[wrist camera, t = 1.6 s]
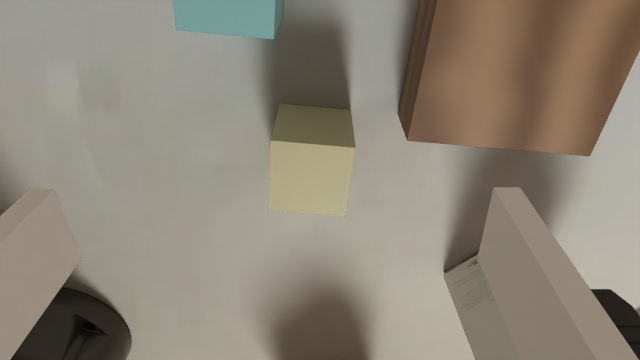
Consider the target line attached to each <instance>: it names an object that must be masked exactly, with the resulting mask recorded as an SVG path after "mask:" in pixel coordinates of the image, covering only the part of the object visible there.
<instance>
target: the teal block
mask: <svg viewBox="0 0 640 360" xmlns="http://www.w3.org/2000/svg"><path fill="white" fill-rule="evenodd" d="M173 2H174V14H175V26H176V30H178V31H189V32H200V33H210V34H221V35H232V36H243V37H254V38H264V39H274V38H275V35H276V33H277V30H278V28H279V25H280V23H281V21H282V18H283V10H284V0H173Z"/></svg>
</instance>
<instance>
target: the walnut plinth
mask: <svg viewBox="0 0 640 360" xmlns="http://www.w3.org/2000/svg"><path fill="white" fill-rule="evenodd" d="M639 50H640V0H420V4H419V9H418V14H417V19H416V24H415V29H414V34H413V39H412V45H411V50H410V55H409V60H408V65H407V70H406V75H405V80H404V85H403V91H402V96H401V101H400V106H399V111H398V116H399V119H400V122H401V124H402V127H403V130H404V133H405V136H406V138H407V141H417V142H429V143H440V144H452V145H464V146H475V147H487V148H499V149H511V150H522V151H534V152H546V153H558V154H569V155H581V156H590V155H591V153H592V151H593V148H594V146H595V144H596V142H597V140H598V138H599V136H600V133H601V131H602V129H603V127H604V125H605V123H606V121H607V119H608V116H609V114H610V112H611V110H612V108H613V106H614V104H615V102H616V99H617V97H618V95H619V93H620V91H621V89H622V87H623V85H624V82H625V80H626V78H627V76H628V74H629V72H630V70H631V67H632V65H633V63H634V61H635V59H636V57H637V55H638V53H639Z"/></svg>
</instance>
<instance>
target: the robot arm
mask: <svg viewBox="0 0 640 360" xmlns="http://www.w3.org/2000/svg"><path fill="white" fill-rule="evenodd" d="M81 259H82V257H81V254H80V252H79V249H78V247H77V244H76V242H75V239H74V237H73V234H72V232H71V229H70V227H69V224H68V221H67V219H66V216H65V214H64V211H63V209H62V206H61V204H60V201H59V199H58V196H57V194H56V191H55V189H29V190H28V191H27V192H26V193H24V194H23V195H22V196H21V197H20V198H19V199H18V200H17V201H16V202H15V203H14V204H13V205H12V206H11V207H9V208H8V209H7V210H6V211H5V212H4V213H3V214H2V215H1V216H0V360H126V359H127V356H128V354H129V352H130V349H131V336H130V333H129V330H128V328H127V326H126V325H125V323H124V322H123V321H122V319H121V318H120V317H119V316H118V315H117V314H116V313H115V312H114V311H113V310H111V309H110V308H109V307H107V306H106V305H104V304H103V303H101V302H99V301H98V300H96V299H94V298H92V297H90V296H87V295H85V294H82V293H79V292H76V291H73V290H69V289H64V288H61V287H62V286H63V284H64V283H65V281H66V280H67V279H68V277H69V276H70V274H71V273H72V271H73V270H74V269H75V267H76V266H77V264H78V263H79V262H80V260H81ZM477 259H478V261H479V263H480V266H481V268H482V270H483V273H484V275H485V277H486V280H487V282H488V284H489V287H490V289H491V291H492V294H493V296H494V298H495V301H496V303H497V305H498V308H499V310H500V312H501V315H502V317H503V319H504V322H505V324H506V326H507V329H508V331H509V333H510V336H511V338H512V340H513V343H514V345H515V347H516V350H517V352H518V354H519V357H520V359H521V360H640V316H639V315H638V313H637V312H636V311H635V309H634V308H633V307H632V306H631V305H630V304H629V303H627V302H626V301H625V300H623V299H622V298H621V297H619V296H618V295H617V294H616V293H614V292H613V291H612V290H610V289H590V288H589V287H588V285H587V284H586V282H585V281H584V279H583V278H582V277H581V275H580V274H579V272H578V271H577V269H576V268H575V266H574V265H573V264H572V262H571V261H570V259H569V258H568V256H567V255H566V253H565V252H564V251H563V249H562V248H561V246H560V245H559V243H558V242H557V240H556V239H555V237H554V236H553V235H552V233H551V232H550V230H549V229H548V227H547V226H546V224H545V223H544V222H543V220H542V219H541V217H540V216H539V214H538V213H537V211H536V210H535V208H534V207H533V206H532V204H531V203H530V201H529V200H528V198H527V197H526V195H525V194H524V193H523V191H522V190H521V188H520V187H494V188H493V192H492V196H491V201H490V205H489V209H488V214H487V218H486V222H485V226H484V231H483V235H482V239H481V244H480V248H479V252H478V257H477Z"/></svg>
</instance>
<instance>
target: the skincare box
mask: <svg viewBox="0 0 640 360" xmlns="http://www.w3.org/2000/svg"><path fill="white" fill-rule="evenodd" d="M477 257H478V254H477V255H475V256H474V257H472V258H470V259H468V260H467V261H465V262H463V263H461V264H459V265H457V266H456V267H454V268H452V269H451V270H449V271H447V272H446V273H444V279H445V281H446V284H447V287H448V289H449V292H450V294H451V297H452V300H453V302H454V305H455V307H456V310H457V313H458V315H459V318H460V321H461V324H462V326H463V329H464V331H465V334H466V336H467V339H468V342H469V344H470V347H471V349H472V352H473V355H474V357H475V360H521V359H520V357H519V354H518V352H517V350H516V347H515V345H514V343H513V340H512V338H511V336H510V333H509V331H508V329H507V326H506V324H505V322H504V319H503V317H502V315H501V312H500V310H499V308H498V305H497V303H496V301H495V298H494V296H493V294H492V291H491V289H490V287H489V284H488V282H487V280H486V277H485V275H484V273H483V270H482V268H481V266H480V263H479V261H478V259H477Z"/></svg>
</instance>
